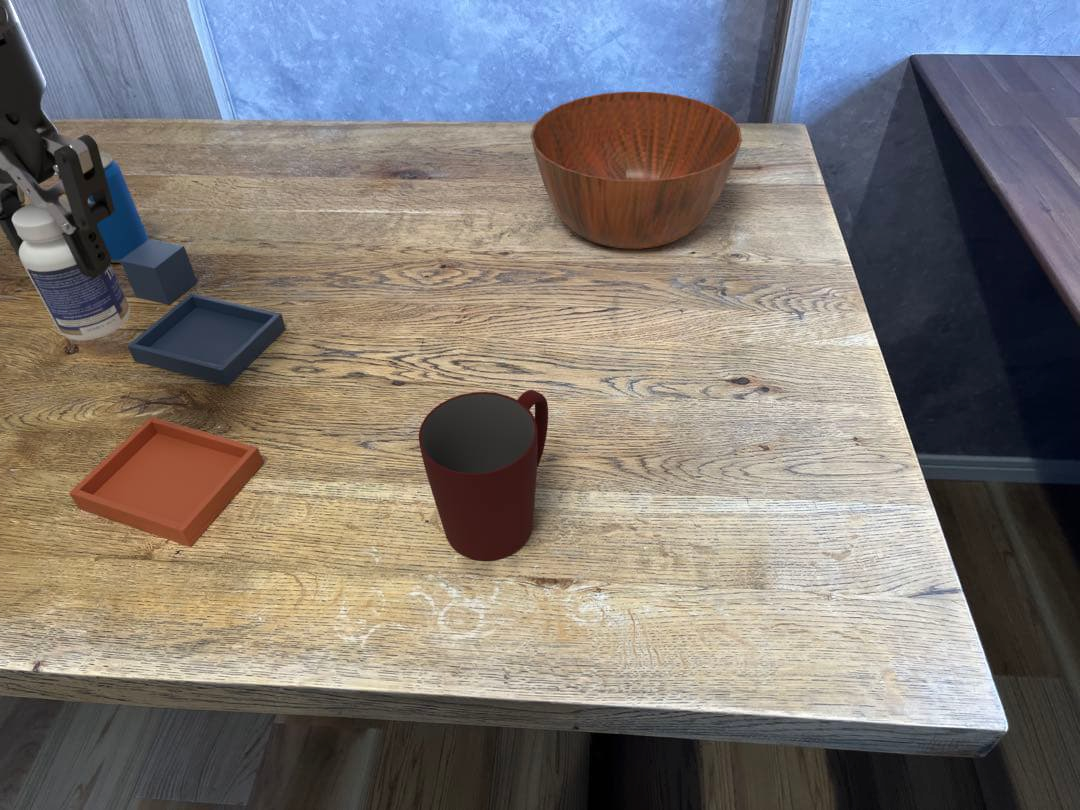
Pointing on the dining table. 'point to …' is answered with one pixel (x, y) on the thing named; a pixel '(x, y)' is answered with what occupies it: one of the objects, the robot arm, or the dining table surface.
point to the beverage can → (120, 215)
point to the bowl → (635, 165)
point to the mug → (485, 469)
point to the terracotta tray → (168, 480)
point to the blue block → (159, 271)
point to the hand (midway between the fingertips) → (66, 263)
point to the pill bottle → (68, 279)
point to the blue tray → (207, 338)
